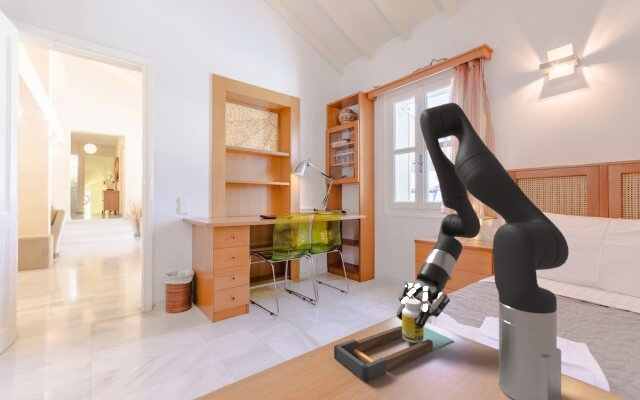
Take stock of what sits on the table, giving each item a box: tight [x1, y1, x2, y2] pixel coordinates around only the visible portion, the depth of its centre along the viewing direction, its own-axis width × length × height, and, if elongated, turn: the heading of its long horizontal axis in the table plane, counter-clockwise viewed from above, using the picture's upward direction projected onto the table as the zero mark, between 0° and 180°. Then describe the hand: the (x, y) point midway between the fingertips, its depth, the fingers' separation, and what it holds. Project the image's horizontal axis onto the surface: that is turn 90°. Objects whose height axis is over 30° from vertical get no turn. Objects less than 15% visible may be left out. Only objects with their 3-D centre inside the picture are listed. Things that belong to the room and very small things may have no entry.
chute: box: [356, 325, 434, 373], centre depth 73 cm, size 10×16×2 cm, turn 123°
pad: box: [421, 326, 454, 351], centre depth 80 cm, size 10×8×1 cm
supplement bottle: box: [401, 299, 425, 344], centre depth 77 cm, size 5×5×10 cm
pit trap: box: [333, 338, 387, 383], centre depth 67 cm, size 11×6×3 cm, turn 33°
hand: (408, 322), depth 76 cm, fingers closed on supplement bottle, 5 cm apart
